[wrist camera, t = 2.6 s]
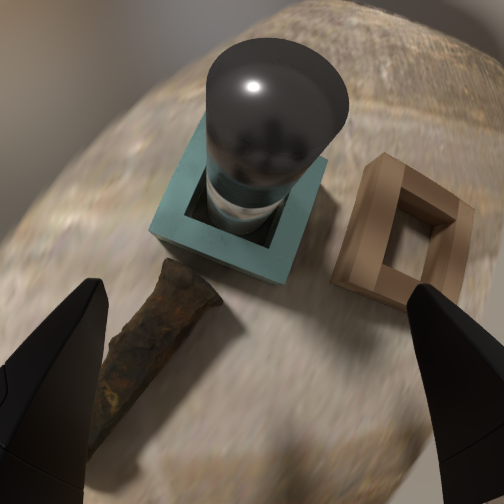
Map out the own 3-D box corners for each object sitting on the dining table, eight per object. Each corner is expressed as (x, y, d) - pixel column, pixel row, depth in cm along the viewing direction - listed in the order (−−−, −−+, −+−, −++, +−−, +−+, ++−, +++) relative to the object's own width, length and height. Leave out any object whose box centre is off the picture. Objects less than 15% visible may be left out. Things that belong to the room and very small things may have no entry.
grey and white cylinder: (256, 244, 20) (329, 176, 8) (197, 221, 20) (180, 117, 7) (277, 189, 21) (360, 71, 8) (221, 166, 21) (239, 23, 8)
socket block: (273, 284, 20) (284, 284, 17) (157, 238, 20) (148, 230, 17) (313, 175, 22) (328, 159, 19) (205, 132, 21) (206, 110, 18)
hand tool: (177, 255, 20) (167, 247, 15) (225, 296, 20) (229, 300, 16) (37, 439, 17) (9, 463, 12) (75, 473, 17) (54, 503, 13)
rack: (426, 321, 22) (451, 324, 19) (329, 282, 21) (348, 281, 18) (451, 216, 23) (474, 209, 20) (364, 167, 22) (384, 152, 19)
